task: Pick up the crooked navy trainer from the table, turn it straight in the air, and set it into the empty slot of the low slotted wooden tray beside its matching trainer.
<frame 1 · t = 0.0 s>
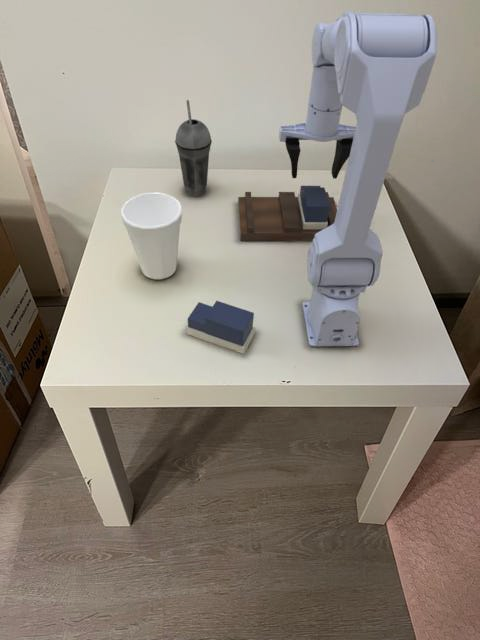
hand: (313, 175, 92), 10 cm above the table, tool pointing down, fingers open, 7 cm apart
slotted wooden tray: (288, 222, 99), on the table
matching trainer: (311, 214, 97), point 2 cm above the table, touching slotted wooden tray
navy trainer: (220, 333, 78), on the table
beverage cup: (195, 191, 105), on the table
cup: (159, 270, 88), on the table
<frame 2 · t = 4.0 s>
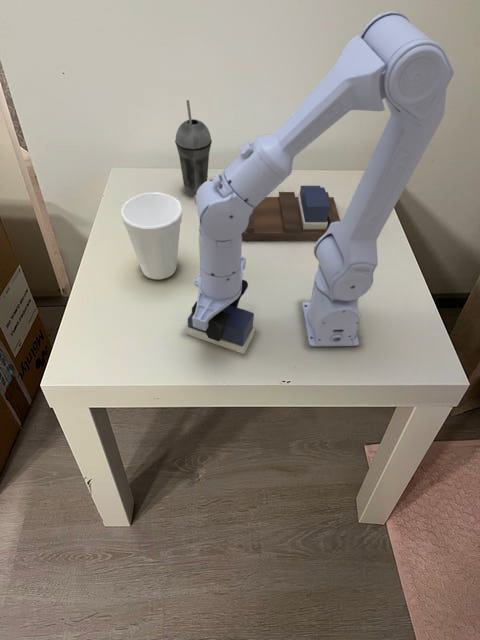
hand: (220, 327, 77), 2 cm above the table, tool pointing down, fingers closed on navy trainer, 4 cm apart
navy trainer: (220, 333, 78), on the table, touching gripper
everything else where it was.
when the fingers open (4 cm above the table, at t = 10.2 s): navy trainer stays where it is, resting on slotted wooden tray.
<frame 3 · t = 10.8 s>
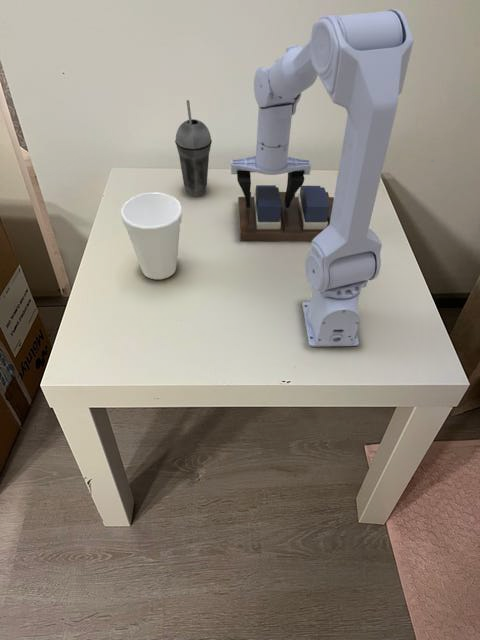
hand: (267, 204, 95), 4 cm above the table, tool pointing down, fingers open, 7 cm apart
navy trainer: (266, 213, 97), point 2 cm above the table, touching slotted wooden tray
everything else where it was.
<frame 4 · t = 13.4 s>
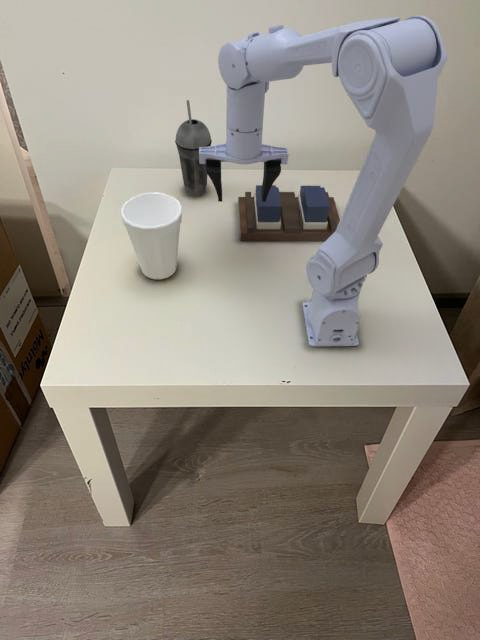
hand: (241, 198, 86), 10 cm above the table, tool pointing down, fingers open, 7 cm apart
nothing on the table moved.
at the end: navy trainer 0.0 cm from the target spot on the slotted wooden tray, point 2.0 cm above the slotted wooden tray's base; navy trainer tilted 0°; the gripper is holding nothing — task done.
